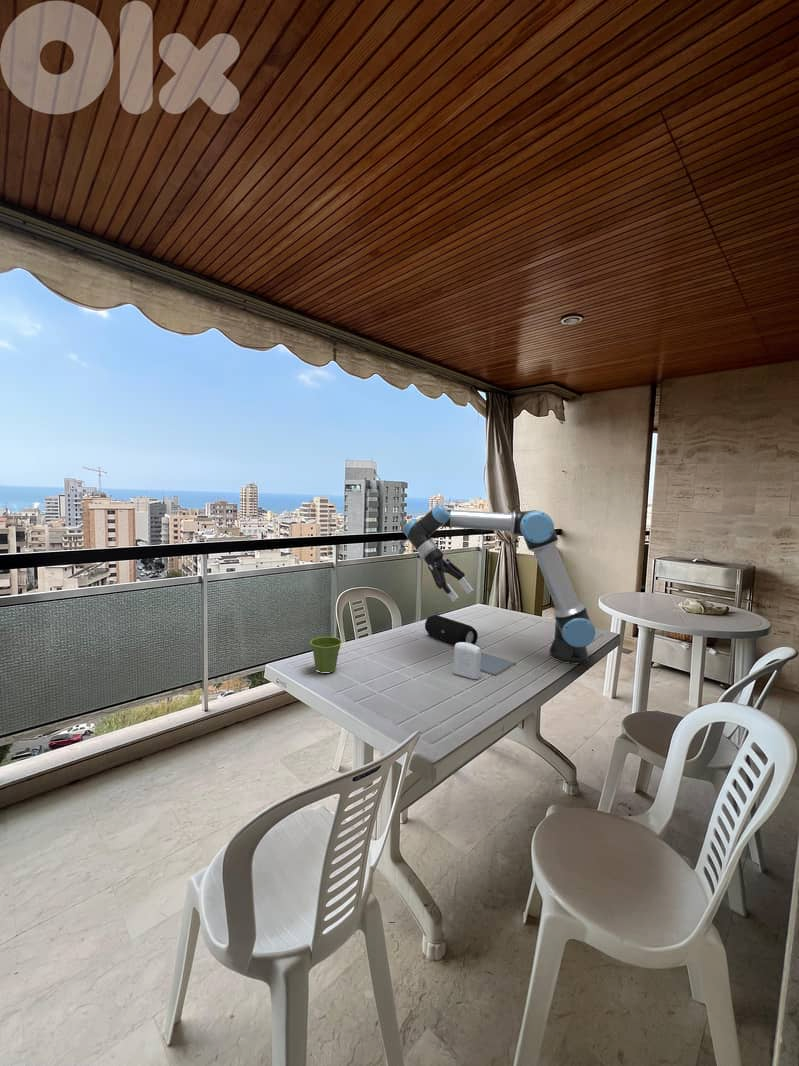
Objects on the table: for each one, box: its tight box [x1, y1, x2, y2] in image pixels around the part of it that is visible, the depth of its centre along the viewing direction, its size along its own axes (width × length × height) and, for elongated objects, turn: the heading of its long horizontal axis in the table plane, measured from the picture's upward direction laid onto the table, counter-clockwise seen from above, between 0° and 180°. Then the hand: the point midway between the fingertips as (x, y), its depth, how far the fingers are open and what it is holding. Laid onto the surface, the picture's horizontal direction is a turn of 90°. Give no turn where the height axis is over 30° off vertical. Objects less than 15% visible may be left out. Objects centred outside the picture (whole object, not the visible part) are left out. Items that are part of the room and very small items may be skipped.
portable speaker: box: [424, 614, 479, 645], centre depth 199 cm, size 26×10×10 cm, turn 40°
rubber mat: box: [480, 651, 517, 677], centre depth 173 cm, size 16×16×1 cm
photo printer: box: [452, 642, 482, 680], centre depth 161 cm, size 10×4×12 cm, turn 56°
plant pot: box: [309, 636, 343, 672], centre depth 163 cm, size 12×12×11 cm
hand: (463, 595), depth 169 cm, fingers open, 13 cm apart
